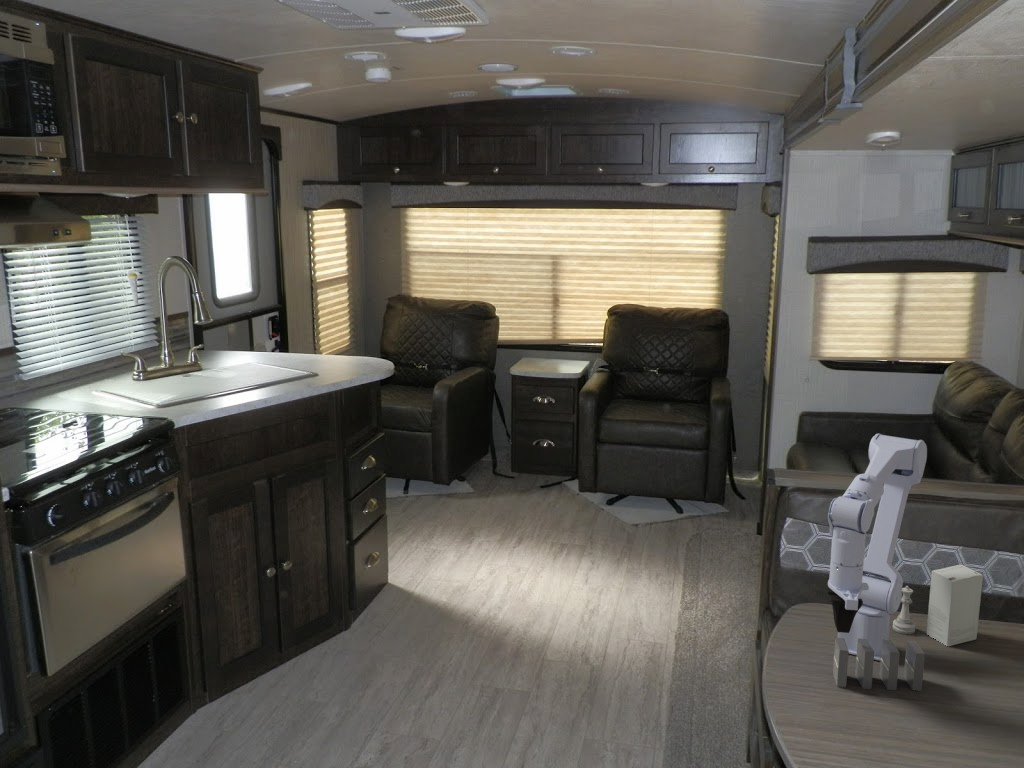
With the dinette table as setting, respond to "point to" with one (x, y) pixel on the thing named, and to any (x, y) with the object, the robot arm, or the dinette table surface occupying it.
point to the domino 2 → (864, 663)
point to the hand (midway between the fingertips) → (842, 629)
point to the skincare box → (954, 605)
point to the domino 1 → (840, 662)
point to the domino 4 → (914, 665)
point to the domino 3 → (889, 664)
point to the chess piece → (904, 615)
